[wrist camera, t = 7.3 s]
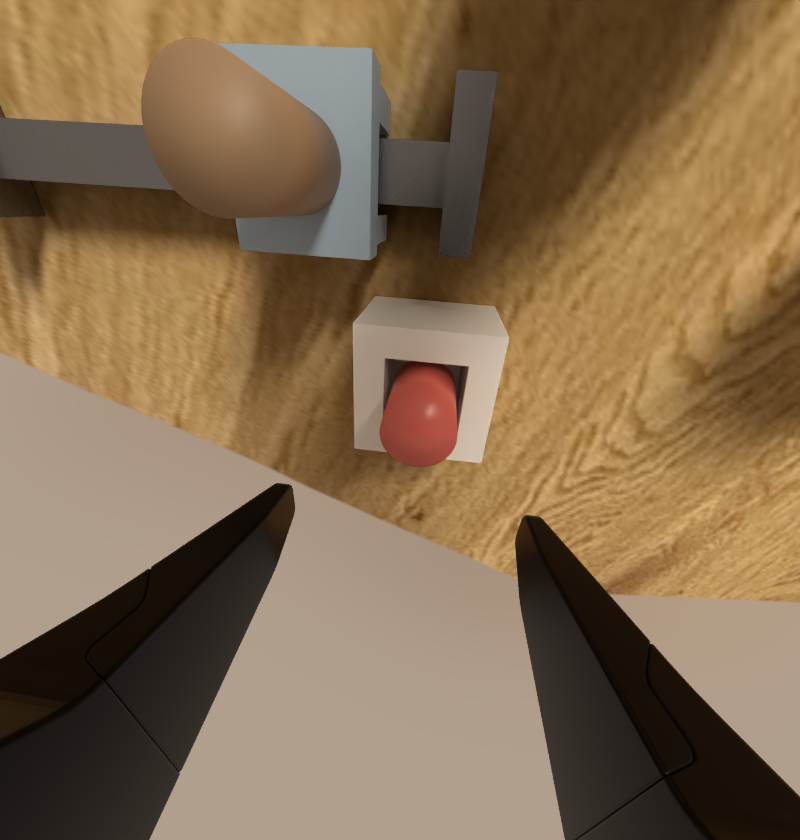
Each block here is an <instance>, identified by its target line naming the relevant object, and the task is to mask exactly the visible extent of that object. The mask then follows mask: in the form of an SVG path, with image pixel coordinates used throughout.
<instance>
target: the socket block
mask: <svg viewBox="0 0 800 840" xmlns="http://www.w3.org/2000/svg"><path fill="white" fill-rule="evenodd" d="M508 342H509V336H508V333H507V331H506V329H505V327H504V325H503V323H502V321H501V319H500V317H499V314H498V312H497V310H496V308H495V306H487V305H476V304H464V303H452V302H441V301H429V300H418V299H406V298H394V297H383V296H375V297H374V298H373V299H372V301H371V302H370V303H369V304H368V305H367V307H366V308H365V309H364V310H363V311H362V313H361V314H360V315H359V316H358V318H357V319H356V320H355V321H354V322H353V384H354V448H355V449H363V450H372V451H380V452H386V450H385V449H384V447H383V445H382V443H381V440H380V435H379V430H380V425H381V421H382V418H383V415H384V412H385V409H386V405H387V402H388V399H389V396H390V393H391V389H392V386H393V383H394V380H395V377H396V375H397V373H398V371H399V370H400V369H401V367H403V366H404V365H405V364H406V363H408V362H410V361H418V362H429V363H439V364H443V365H445V366H446V367H447V368H448V369H449V370H450V372H451V373H452V375H453V377H454V380H455V388H456V412H457V443H456V446H455V448H454V450H453V451H452V453H451V454H450V455H449V456H448V457H447V458H446V459H449V460H457V461H466V462H474V463H481V462H482V457H483V453H484V448H485V444H486V439H487V435H488V431H489V426H490V422H491V417H492V413H493V409H494V404H495V400H496V395H497V391H498V386H499V382H500V378H501V373H502V369H503V364H504V360H505V355H506V351H507V347H508Z"/></svg>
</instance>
